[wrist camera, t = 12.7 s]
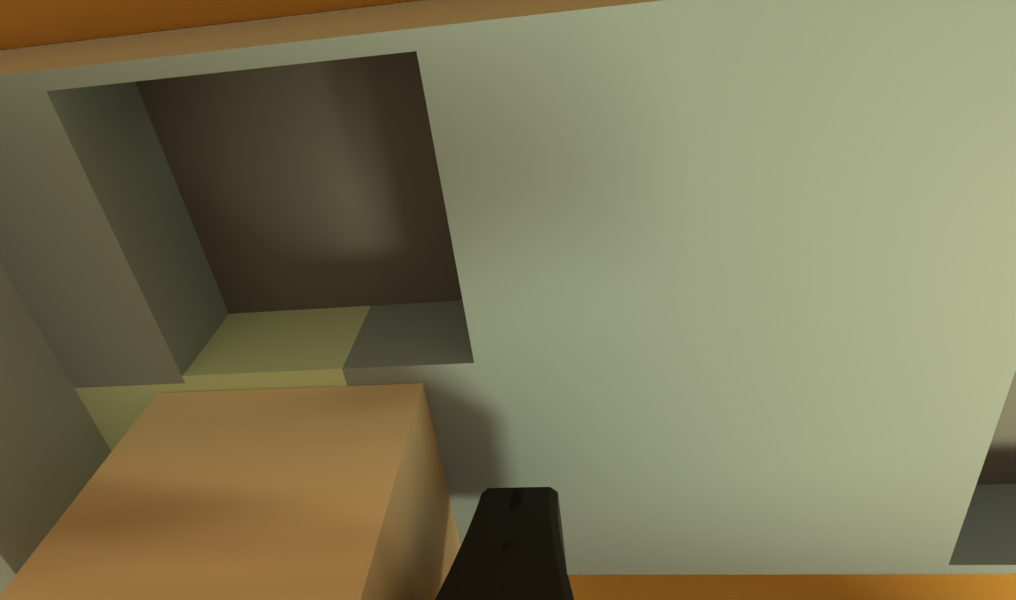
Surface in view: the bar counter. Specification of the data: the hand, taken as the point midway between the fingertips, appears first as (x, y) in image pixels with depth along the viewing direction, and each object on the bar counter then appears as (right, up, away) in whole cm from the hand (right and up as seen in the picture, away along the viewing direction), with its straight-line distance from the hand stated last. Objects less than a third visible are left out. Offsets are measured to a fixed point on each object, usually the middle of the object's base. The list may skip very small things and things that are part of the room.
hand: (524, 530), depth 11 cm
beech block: (-4, 0, +1) cm, 4 cm away
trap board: (+2, +4, +1) cm, 4 cm away
